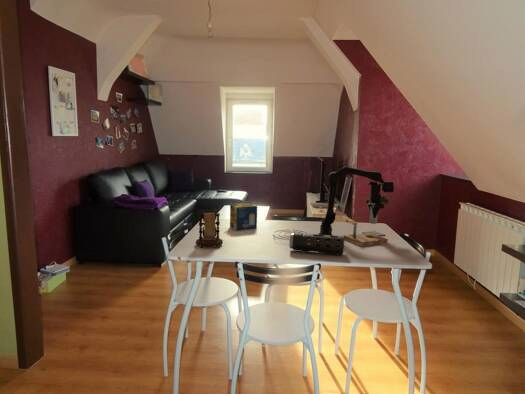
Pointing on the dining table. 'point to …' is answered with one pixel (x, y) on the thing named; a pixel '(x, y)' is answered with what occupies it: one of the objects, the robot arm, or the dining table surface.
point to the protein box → (243, 216)
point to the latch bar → (353, 224)
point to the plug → (372, 219)
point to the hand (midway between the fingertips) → (373, 217)
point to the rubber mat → (375, 233)
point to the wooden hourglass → (209, 230)
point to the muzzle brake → (317, 243)
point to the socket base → (365, 239)
